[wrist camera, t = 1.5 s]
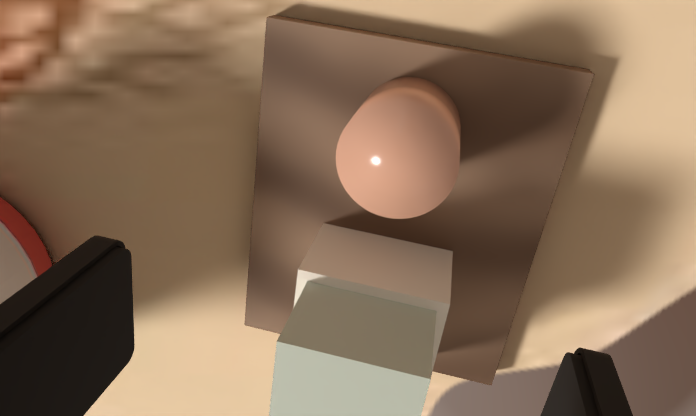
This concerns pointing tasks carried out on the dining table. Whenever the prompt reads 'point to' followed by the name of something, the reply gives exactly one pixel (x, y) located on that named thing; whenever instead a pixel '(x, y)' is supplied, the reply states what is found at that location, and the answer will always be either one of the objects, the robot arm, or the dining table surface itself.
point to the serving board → (448, 217)
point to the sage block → (352, 356)
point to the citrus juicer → (18, 252)
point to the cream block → (380, 270)
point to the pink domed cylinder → (401, 149)
